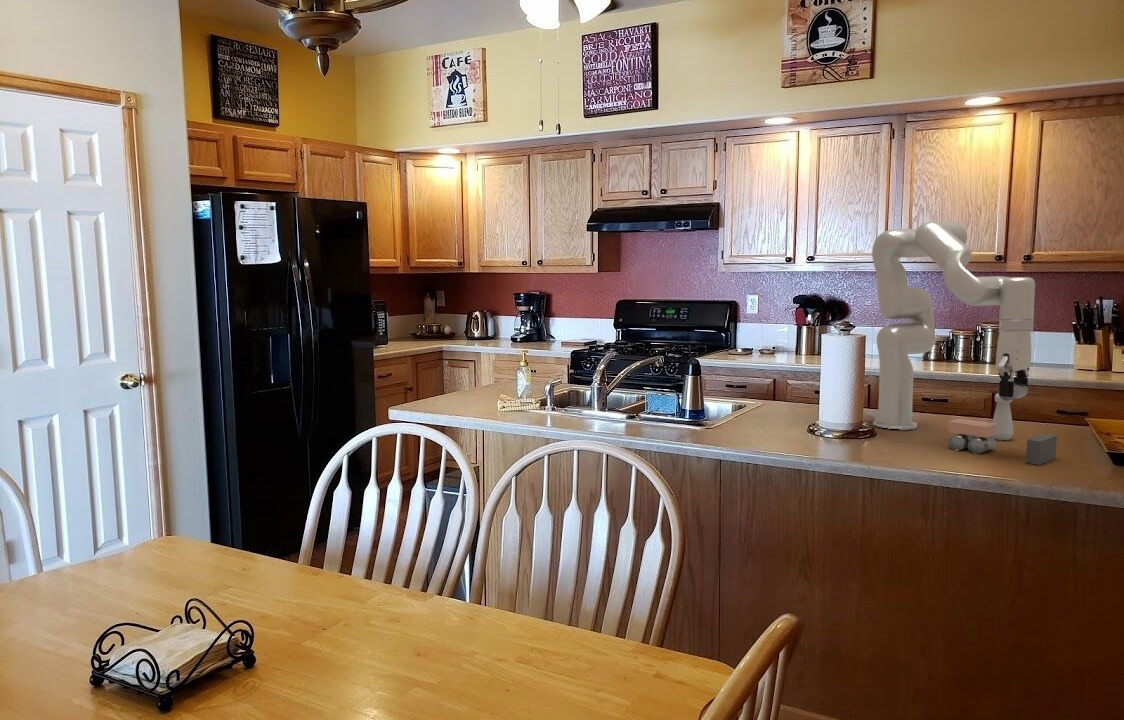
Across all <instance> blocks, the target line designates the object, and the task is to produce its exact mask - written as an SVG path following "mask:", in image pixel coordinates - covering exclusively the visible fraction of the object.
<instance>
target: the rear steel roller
mask: <svg viewBox="0 0 1124 720" xmlns="http://www.w3.org/2000/svg"><path fill="white" fill-rule="evenodd" d="M974 438H977V436H973V435H966V434H959V433H958V434H956V435H953V436H951V437H950V438H949V439H948V446H949V448H950V449H951V448H952V449H951V450H953V449H958V450H959V451H962V450H965V449H968V442H969V441H970V440H972V439H974Z"/></svg>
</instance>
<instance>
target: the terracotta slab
mask: <svg viewBox="0 0 1124 720" xmlns="http://www.w3.org/2000/svg"><path fill="white" fill-rule="evenodd" d="M947 427H948V428H947V431H948V433H953V434H954V433H955V434H958V435H959V434H966V435H973V436H976V437H986V438H987V437H990V436H993V435H996V434H997V424H995V423H992V422H985V421H982V420H981V421H979V420H972V419H965V418H957V419H953V420H950V421H948V425H947Z"/></svg>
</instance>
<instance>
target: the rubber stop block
mask: <svg viewBox="0 0 1124 720" xmlns="http://www.w3.org/2000/svg"><path fill="white" fill-rule="evenodd" d="M1057 437H1058V435H1056V434H1048V433H1042V434H1039V435H1036V436H1033V437H1031V438H1027V439H1026V456H1025V457H1026V459H1025V464H1028V463H1030V464H1029V465H1034V464H1036V466H1041V464H1042V465H1043V463H1044V464H1046V463H1049V462H1051V461H1053V460H1056V459H1055V458H1056V457H1057V454H1056V453H1057V441H1058V439H1057ZM1050 460H1051V461H1050ZM1048 461H1049V462H1048Z"/></svg>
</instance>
